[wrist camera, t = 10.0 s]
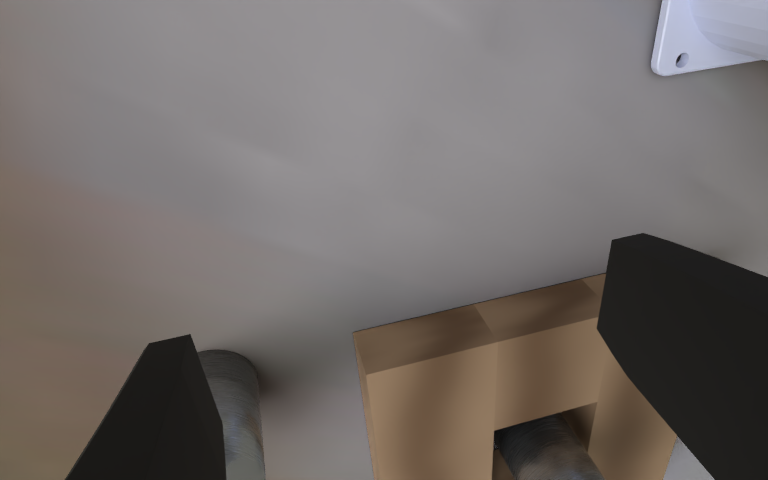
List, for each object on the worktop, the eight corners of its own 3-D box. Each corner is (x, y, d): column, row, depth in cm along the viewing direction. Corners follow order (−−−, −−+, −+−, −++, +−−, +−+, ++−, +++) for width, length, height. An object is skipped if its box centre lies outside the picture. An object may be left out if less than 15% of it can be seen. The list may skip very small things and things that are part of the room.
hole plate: (685, 254, 25) (726, 285, 23) (629, 465, 34) (655, 501, 32) (352, 332, 23) (366, 374, 20) (383, 540, 31) (395, 584, 29)
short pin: (247, 340, 21) (253, 443, 17) (265, 402, 23) (274, 507, 19) (153, 362, 21) (136, 473, 17) (180, 423, 23) (170, 537, 19)
